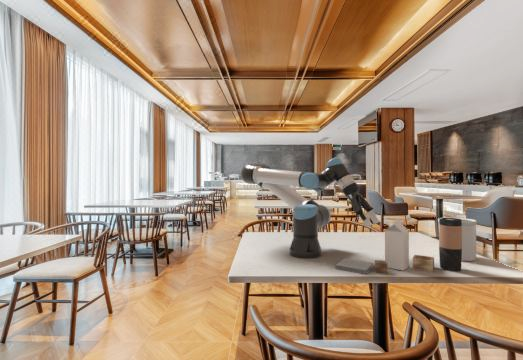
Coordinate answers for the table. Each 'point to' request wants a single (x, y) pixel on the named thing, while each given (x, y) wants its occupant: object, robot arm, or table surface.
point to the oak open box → (423, 263)
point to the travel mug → (450, 243)
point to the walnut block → (380, 267)
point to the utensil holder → (468, 239)
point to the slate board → (355, 266)
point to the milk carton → (397, 246)
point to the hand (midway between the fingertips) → (373, 224)
